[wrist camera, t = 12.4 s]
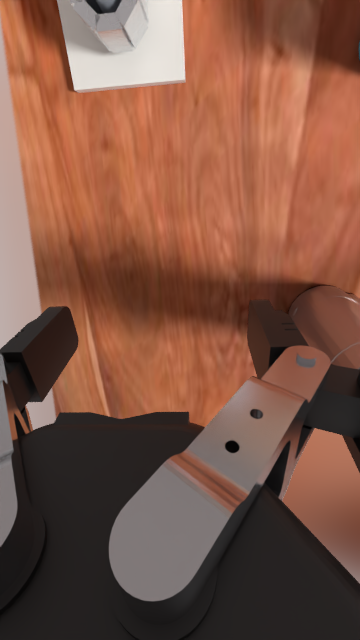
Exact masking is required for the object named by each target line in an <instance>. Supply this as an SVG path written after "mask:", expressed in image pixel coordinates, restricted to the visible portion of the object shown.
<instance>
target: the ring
mask: <svg viewBox="0 0 360 640" xmlns="http://www.w3.org/2000/svg"><path fill="white" fill-rule="evenodd" d="M70 4H71V5H72V6H73V9H74V10H75V12H76V13H77V14H78V16H79V17H80V18H81V19H82V21H83V22H84V23H85V25H86V26H87V27H88V28H89V30H90V31H91V32H92V34H93V35H94V36H95V37H96V38H97V39H98V40H99V41H100V42H101V43H102V44H103V45H104V46H105V47H106V48H107V49H108V50H109V51H110V52H111V51H112V53H122V52H130V51H133V47H134V48H135V49H136V48H137V46H138V44H139V43H140V41H141V39H142V37H143V36H144V34H145V32H146V30H147V29H148V26H147V23H149V18H148V7H147V0H122V1H121V3H120V5H119V7H118V8H117V10H116V12H112V13H105V14H99V10H98V3H97V2H96V0H70Z"/></svg>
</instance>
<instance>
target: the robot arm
mask: <svg viewBox="0 0 360 640" xmlns="http://www.w3.org/2000/svg"><path fill="white" fill-rule="evenodd" d="M247 339H248V346H249V349H250V353H251V356H252V360H253V363H254V367H255V370H256V374H257V377H258V378H257V377H254V376H252V377H250V378H249V379H248V380H247V381H246V382H245V383H244V384H243V386H242V387H241V388H240V389H239V390H238V391H237V392H236V393H235V395H234V396H233V397H232V398H231V399H230V400H229V401H228V402H227V404H226V405H225V406H224V407H223V408H222V409H221V410H220V411H219V413H218V414H217V415H216V416H215V417H214V418H213V419H212V421H211V422H210V423H209V424H208V425H207V426H206V427H203V426H200V425H197V424H194V423H190V422H189V412H154V413H150V414H145V415H140V416H135V417H130V418H126V419H117V418H113V417H108V416H104V415H100V414H95V413H91V412H85V413H59V415H58V417H57V419H56V421H55V423H53V424H49V425H46V426H43V427H41V428H38V429H35V430H33V429H32V424H31V420H30V417H29V412H28V410H27V408H26V406H25V405H26V404H27V403H28V402H42V401H43V400H44V398H45V397H46V395H47V394H48V392H49V391H50V389H51V388H52V386H53V385H54V383H55V382H56V380H57V379H58V377H59V375H60V374H61V372H62V371H63V369H64V368H65V366H66V365H67V363H68V362H69V360H70V359H71V357H72V356H73V354H74V353H75V351H76V349H77V347H78V335H77V332H76V328H75V325H74V321H73V318H72V314H71V311H70V309H69V308H68V307H67V306H62V307H49V308H47V309H46V310H45V311H44V312H43V313H42V314H41V315H40V316H39V317H38V318H37V319H35V320H34V321H32V322H30V323H28V324H27V325H26V326H25V327H24V328H23V329H22V330H21V332H18V333H17V335H15V337H13V338H12V339H11V340H10V341H9V342H8V343H7V344H6V345H4V346H3V347H2V348H1V349H0V640H360V584H359V583H358V581H357V580H356V579H355V578H354V577H353V576H352V575H351V574H350V573H349V572H348V571H347V570H346V569H345V568H344V567H343V566H342V565H341V563H340V562H339V561H338V560H337V559H336V558H335V557H334V556H333V555H332V554H331V553H330V552H329V551H328V550H327V549H326V547H325V546H324V545H323V544H322V543H321V542H320V541H319V540H318V539H317V538H316V537H315V536H314V535H313V534H312V533H311V532H310V531H309V529H308V528H307V527H306V526H305V525H304V524H303V523H302V522H301V521H300V520H299V519H298V518H297V517H296V516H295V515H294V513H293V512H292V511H291V510H290V509H289V508H288V507H287V506H286V505H285V504H284V503H283V502H282V499H283V497H284V495H285V492H286V490H287V488H288V485H289V482H290V479H291V476H292V474H293V471H294V469H295V466H296V464H297V462H298V460H299V458H300V456H301V454H302V452H303V450H304V448H305V446H306V444H307V442H308V440H309V438H310V436H311V434H312V432H313V430H314V428H317V429H321V430H325V431H329V432H333V433H337V434H340V435H342V436H343V438H344V440H345V442H346V444H347V447H348V449H349V451H350V453H351V455H352V457H353V459H354V461H355V464H356V466H357V468H358V470H359V472H360V299H359V298H358V297H357V296H356V295H354V294H347V293H345V292H344V291H342V290H341V289H339V288H337V287H334V286H318V287H314V288H311V289H309V290H307V291H305V292H304V293H302V294H301V295H300V296H298V297H297V298H296V299H295V301H294V302H293V303H292V305H291V307H290V309H289V313H288V314H286V313H285V312H283V311H282V310H275V311H274V309H273V307H272V305H271V303H270V301H269V300H250V303H249V315H248V330H247Z"/></svg>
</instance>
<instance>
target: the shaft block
mask: <svg viewBox="0 0 360 640" xmlns="http://www.w3.org/2000/svg"><path fill="white" fill-rule="evenodd" d="M121 1H122V0H96V2H97V3H98V10H99V14H105V13H112V12H116V10H117V8H118V7H119V5H120V3H121ZM57 3H58V8H59V13H60V18H61V23H62V29H63V34H64V39H65V44H66V49H67V54H68V59H69V64H70V70H71V75H72V80H73V85H74V90H75V91H76V92H78V93H83V92H93V91H104V90H114V89H124V88H135V87H145V86H155V85H166V84H176V83H185V60H184V37H183V13H182V0H147V7H148V18H149V23H147V26H148V29H147V30H146V32H145V34H144V36H143V37H142V39H141V41H140V43H139V44H138V46H137V48H136V49H135V48H134V47H133V51H130V52H122V53H112V51H111V52H110V51H109V50H108V49H107V48H106V47H105V46H104V45H103V44H102V43H101V42H100V41H99V40H98V39H97V38H96V37H95V36H94V35H93V34H92V32H91V31H90V30H89V28H88V27H87V26H86V25H85V23H84V22H83V21H82V19H81V18H80V17H79V16H78V14H77V13H76V12H75V10H74V9H73V6H72V5H71V4H70V0H57Z"/></svg>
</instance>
